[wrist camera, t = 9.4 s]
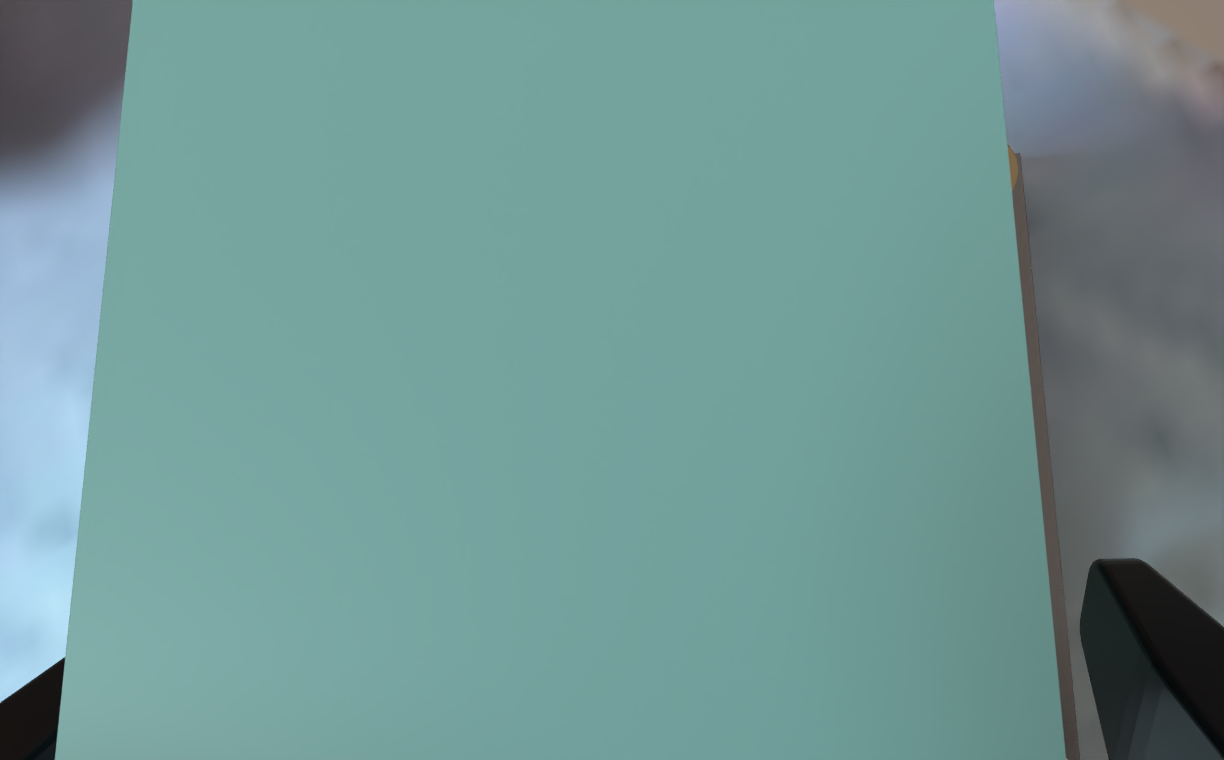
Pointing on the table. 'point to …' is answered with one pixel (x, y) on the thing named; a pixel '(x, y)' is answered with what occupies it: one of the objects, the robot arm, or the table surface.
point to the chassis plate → (1044, 463)
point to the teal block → (561, 390)
